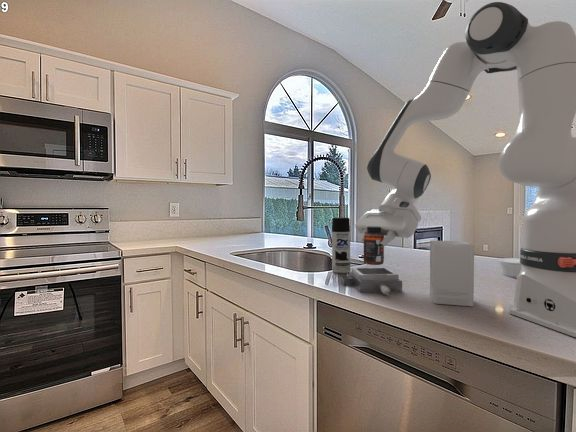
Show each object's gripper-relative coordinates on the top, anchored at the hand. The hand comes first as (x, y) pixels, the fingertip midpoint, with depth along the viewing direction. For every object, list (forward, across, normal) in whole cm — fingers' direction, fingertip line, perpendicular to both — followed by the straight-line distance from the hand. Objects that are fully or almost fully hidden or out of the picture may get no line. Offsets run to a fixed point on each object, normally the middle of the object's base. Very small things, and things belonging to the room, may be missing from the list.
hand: (372, 243), depth 97 cm
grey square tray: (+11, +2, +8) cm, 13 cm away
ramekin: (-27, +19, +46) cm, 56 cm away
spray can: (+5, -21, +14) cm, 25 cm away
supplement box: (+6, +22, +12) cm, 26 cm away
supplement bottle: (+4, 0, +5) cm, 6 cm away
